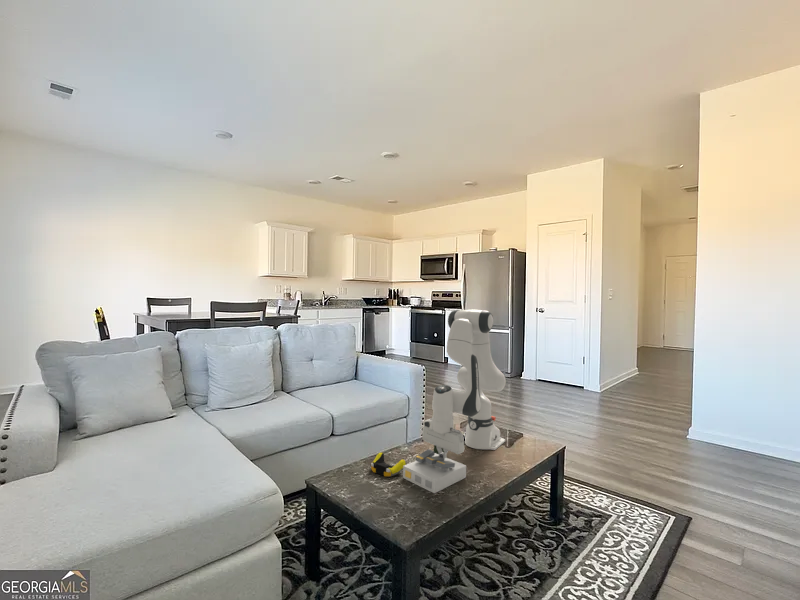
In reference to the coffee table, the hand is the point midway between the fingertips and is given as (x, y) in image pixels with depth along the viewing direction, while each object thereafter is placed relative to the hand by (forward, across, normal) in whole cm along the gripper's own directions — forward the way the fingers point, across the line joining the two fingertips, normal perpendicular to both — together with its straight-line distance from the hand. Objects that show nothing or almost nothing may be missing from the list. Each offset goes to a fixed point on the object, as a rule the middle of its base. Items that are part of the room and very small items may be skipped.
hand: (442, 457), depth 167 cm
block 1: (0, +6, +5) cm, 7 cm away
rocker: (0, 0, +5) cm, 5 cm away
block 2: (0, -6, +5) cm, 7 cm away
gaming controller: (+7, +18, +16) cm, 25 cm away
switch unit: (+7, 0, +5) cm, 9 cm away
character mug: (+8, +14, -15) cm, 22 cm away
